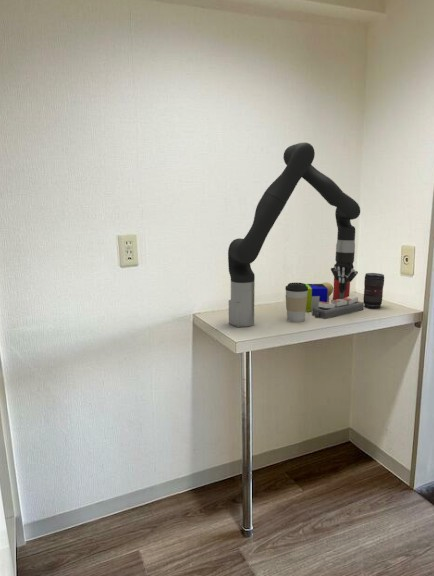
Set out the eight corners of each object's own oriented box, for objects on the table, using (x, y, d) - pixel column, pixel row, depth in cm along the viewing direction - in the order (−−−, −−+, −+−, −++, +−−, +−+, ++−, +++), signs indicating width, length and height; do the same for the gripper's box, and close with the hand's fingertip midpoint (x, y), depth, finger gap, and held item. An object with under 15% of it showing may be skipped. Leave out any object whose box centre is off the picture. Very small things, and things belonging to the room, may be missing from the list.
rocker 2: (337, 306, 177) (337, 301, 176) (330, 304, 180) (330, 300, 179) (346, 304, 180) (347, 299, 180) (340, 302, 183) (340, 298, 183)
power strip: (322, 319, 170) (322, 311, 170) (309, 315, 176) (309, 308, 175) (363, 309, 184) (363, 302, 184) (350, 306, 190) (350, 299, 189)
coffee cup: (284, 315, 176) (285, 280, 173) (306, 316, 175) (307, 281, 172) (284, 322, 168) (285, 285, 164) (307, 323, 166) (309, 285, 163)
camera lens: (383, 309, 184) (386, 276, 181) (364, 309, 185) (366, 275, 182) (380, 305, 192) (382, 272, 188) (361, 304, 193) (363, 272, 190)
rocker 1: (324, 308, 173) (325, 303, 172) (318, 306, 176) (319, 301, 175) (334, 308, 176) (335, 303, 176) (327, 306, 179) (328, 301, 179)
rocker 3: (349, 305, 181) (348, 300, 180) (342, 303, 184) (342, 299, 183) (358, 300, 184) (358, 296, 183) (351, 299, 187) (351, 294, 186)
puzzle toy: (326, 311, 183) (327, 288, 181) (303, 311, 183) (304, 288, 181) (321, 305, 192) (322, 283, 190) (299, 305, 193) (300, 283, 191)
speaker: (332, 302, 198) (334, 264, 194) (332, 298, 205) (333, 261, 201) (350, 303, 196) (352, 264, 192) (348, 299, 203) (350, 262, 199)
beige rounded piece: (314, 303, 196) (316, 282, 194) (325, 301, 199) (326, 281, 197) (324, 306, 190) (326, 284, 188) (335, 304, 193) (336, 283, 191)
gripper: (326, 249, 180) (324, 289, 183) (352, 253, 169) (349, 295, 172) (338, 248, 184) (336, 287, 187) (364, 251, 173) (361, 293, 177)
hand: (342, 291), depth 180 cm, fingers closed
